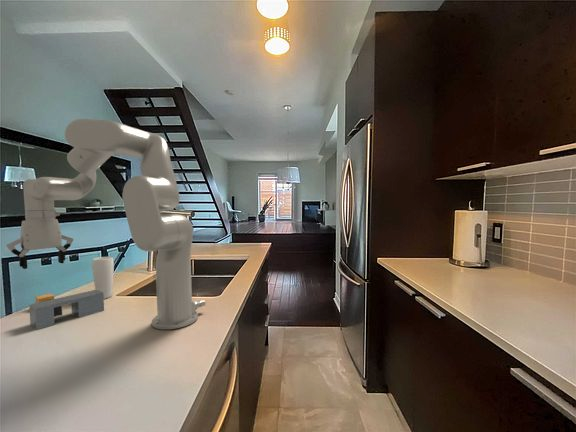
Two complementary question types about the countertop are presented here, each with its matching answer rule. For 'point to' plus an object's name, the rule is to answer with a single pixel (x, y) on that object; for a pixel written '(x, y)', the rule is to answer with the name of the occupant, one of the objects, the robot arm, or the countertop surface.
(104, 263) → the drinking glass
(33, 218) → the robot arm
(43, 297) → the plug
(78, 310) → the housing
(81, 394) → the countertop surface
